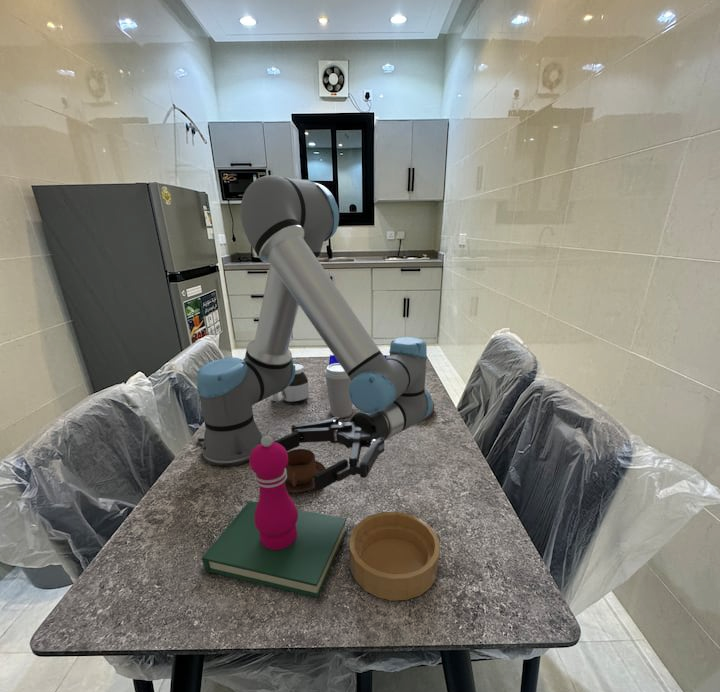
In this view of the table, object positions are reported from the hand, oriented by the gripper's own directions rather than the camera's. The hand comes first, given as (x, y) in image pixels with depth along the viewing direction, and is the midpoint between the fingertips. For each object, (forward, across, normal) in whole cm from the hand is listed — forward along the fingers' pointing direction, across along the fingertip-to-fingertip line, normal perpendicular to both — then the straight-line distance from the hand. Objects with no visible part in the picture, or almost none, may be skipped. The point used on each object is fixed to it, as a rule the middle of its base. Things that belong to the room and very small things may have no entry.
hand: (290, 466), depth 64 cm
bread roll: (-58, +16, -16) cm, 62 cm away
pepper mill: (+4, 0, -13) cm, 13 cm away
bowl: (-8, -17, -16) cm, 24 cm away
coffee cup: (-42, +34, -16) cm, 56 cm away
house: (-61, +46, -16) cm, 78 cm away
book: (+4, 0, -16) cm, 16 cm away
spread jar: (-36, +53, -16) cm, 66 cm away
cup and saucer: (-11, +14, -16) cm, 24 cm away
